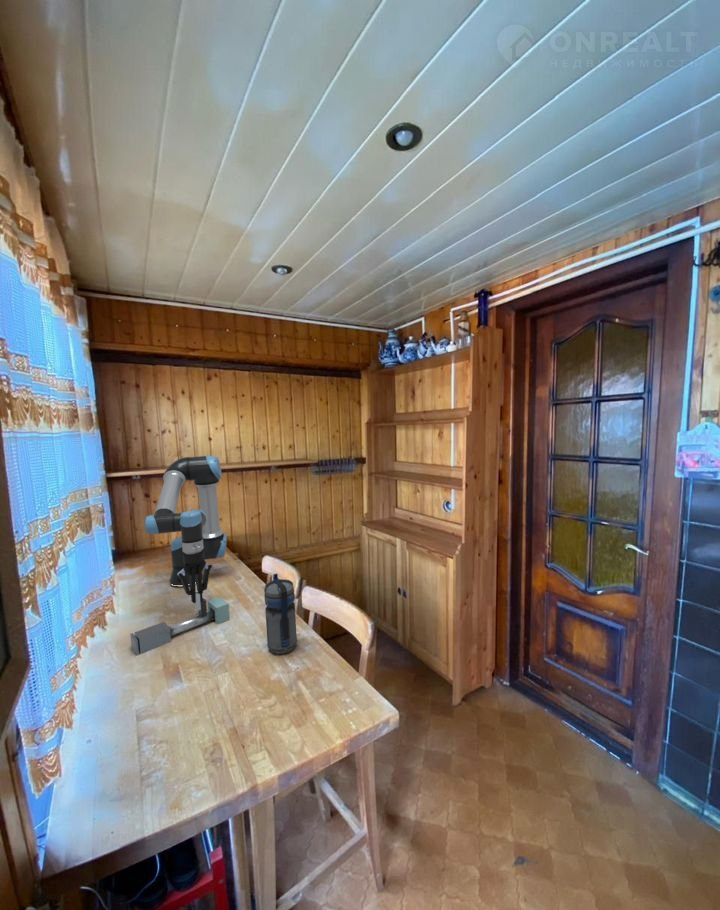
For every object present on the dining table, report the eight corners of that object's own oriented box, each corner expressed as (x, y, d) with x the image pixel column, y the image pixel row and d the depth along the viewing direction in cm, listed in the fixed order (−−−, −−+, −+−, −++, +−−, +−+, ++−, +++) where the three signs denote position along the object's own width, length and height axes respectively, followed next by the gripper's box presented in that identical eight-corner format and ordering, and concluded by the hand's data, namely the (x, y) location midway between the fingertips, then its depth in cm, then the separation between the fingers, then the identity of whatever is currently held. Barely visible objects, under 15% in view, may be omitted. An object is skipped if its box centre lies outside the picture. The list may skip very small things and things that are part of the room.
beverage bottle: (273, 663, 123) (268, 589, 121) (264, 643, 134) (260, 575, 132) (302, 654, 127) (299, 582, 125) (292, 635, 139) (288, 569, 137)
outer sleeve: (136, 655, 130) (135, 641, 130) (131, 647, 135) (130, 633, 134) (171, 641, 138) (169, 627, 137) (165, 634, 142) (164, 621, 142)
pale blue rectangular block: (217, 624, 149) (216, 608, 148) (208, 616, 155) (207, 601, 155) (229, 619, 152) (228, 603, 152) (220, 612, 159) (219, 596, 158)
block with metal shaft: (162, 641, 137) (160, 616, 136) (159, 637, 140) (157, 612, 139) (221, 618, 152) (219, 595, 152) (217, 615, 155) (215, 592, 154)
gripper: (179, 557, 138) (183, 619, 140) (213, 548, 147) (217, 606, 149) (172, 553, 144) (177, 612, 146) (206, 544, 153) (210, 600, 155)
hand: (197, 609), depth 147 cm, fingers closed
